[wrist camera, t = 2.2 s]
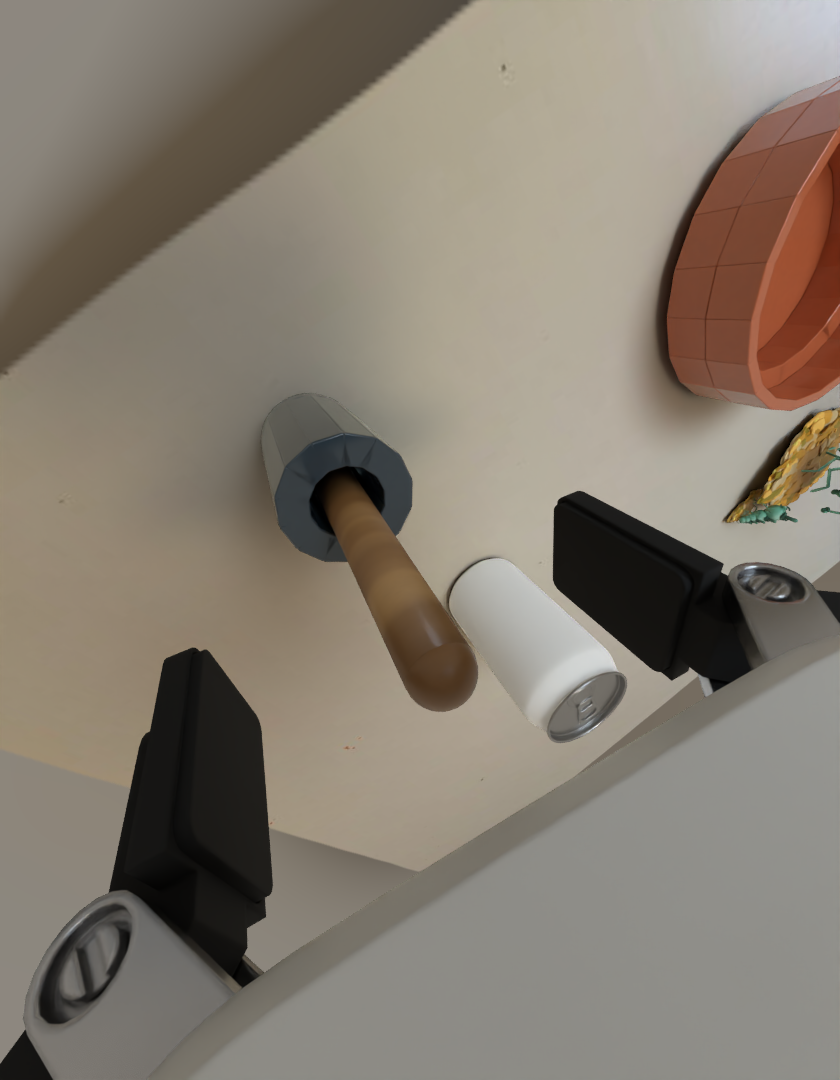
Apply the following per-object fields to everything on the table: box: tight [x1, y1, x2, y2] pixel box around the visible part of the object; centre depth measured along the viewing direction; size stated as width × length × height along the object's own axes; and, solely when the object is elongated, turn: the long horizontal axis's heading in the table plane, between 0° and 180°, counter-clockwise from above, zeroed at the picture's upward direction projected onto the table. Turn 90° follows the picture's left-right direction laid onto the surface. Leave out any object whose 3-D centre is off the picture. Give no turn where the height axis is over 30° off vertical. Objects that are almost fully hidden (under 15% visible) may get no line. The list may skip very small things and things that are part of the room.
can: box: [449, 558, 627, 743], centre depth 27 cm, size 6×6×12 cm
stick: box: [314, 466, 478, 712], centre depth 15 cm, size 2×2×16 cm
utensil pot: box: [261, 393, 412, 562], centre depth 18 cm, size 5×5×8 cm
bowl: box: [667, 76, 840, 411], centre depth 25 cm, size 16×16×6 cm
